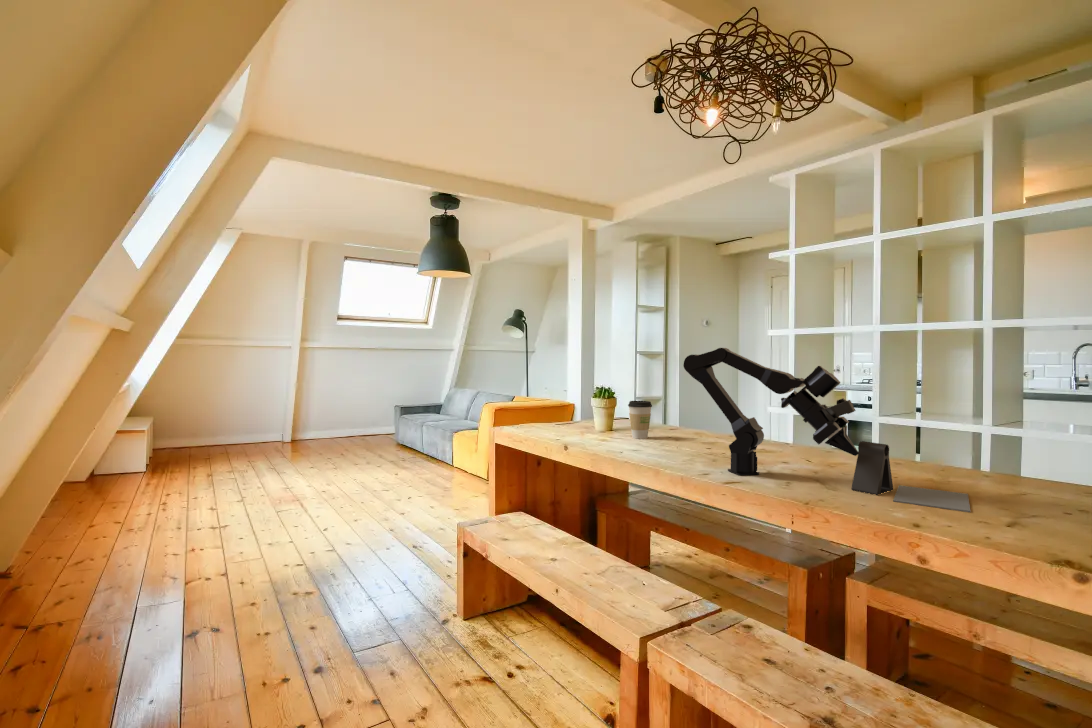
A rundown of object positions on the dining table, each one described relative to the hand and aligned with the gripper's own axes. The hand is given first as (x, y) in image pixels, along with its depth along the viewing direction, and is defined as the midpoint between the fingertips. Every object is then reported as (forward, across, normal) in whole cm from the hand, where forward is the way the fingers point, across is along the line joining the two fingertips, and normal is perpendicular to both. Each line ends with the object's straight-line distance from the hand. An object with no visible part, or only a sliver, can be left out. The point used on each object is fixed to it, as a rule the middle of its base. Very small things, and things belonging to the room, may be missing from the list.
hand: (857, 454), depth 135 cm
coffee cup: (-53, +40, +64) cm, 92 cm away
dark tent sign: (+9, 0, +4) cm, 9 cm away
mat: (+17, 0, -5) cm, 18 cm away
